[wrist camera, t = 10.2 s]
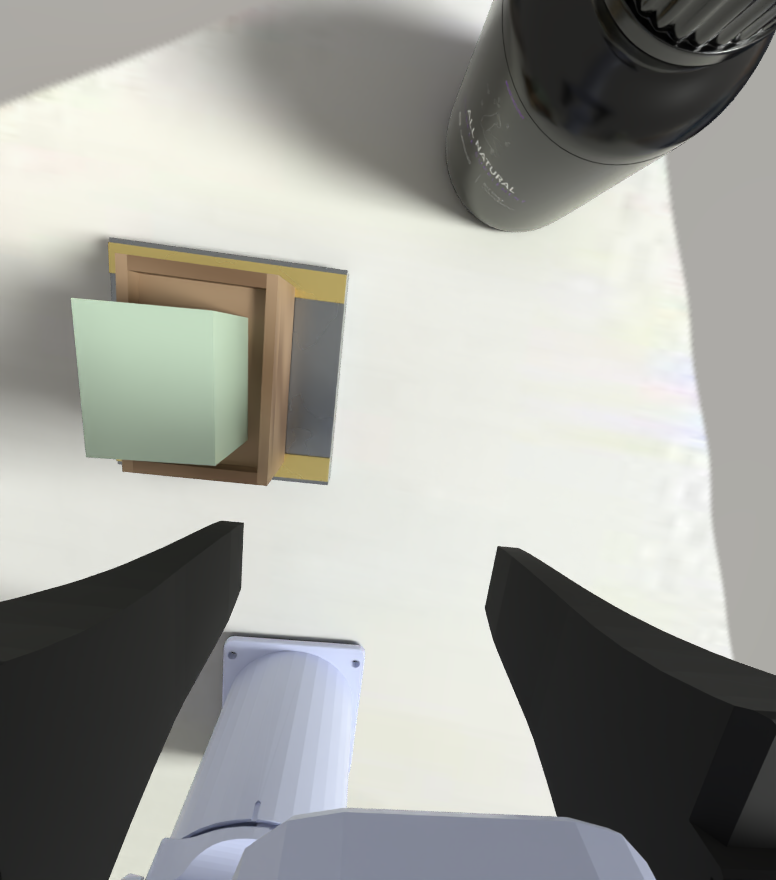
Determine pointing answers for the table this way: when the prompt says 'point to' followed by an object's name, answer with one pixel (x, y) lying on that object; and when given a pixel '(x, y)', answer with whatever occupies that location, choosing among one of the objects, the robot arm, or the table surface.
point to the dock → (310, 352)
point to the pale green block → (161, 381)
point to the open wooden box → (268, 353)
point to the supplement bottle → (591, 96)
